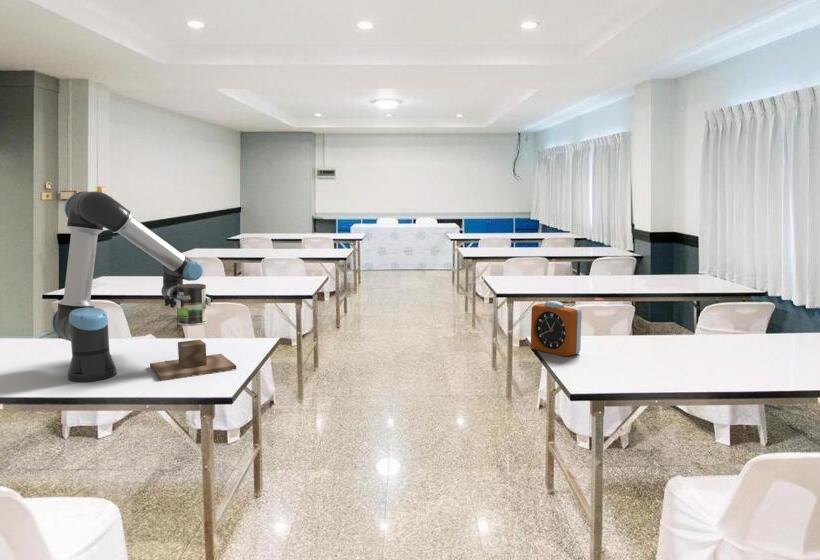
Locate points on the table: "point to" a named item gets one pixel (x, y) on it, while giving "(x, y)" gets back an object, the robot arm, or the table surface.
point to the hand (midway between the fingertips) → (194, 303)
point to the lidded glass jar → (191, 304)
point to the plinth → (180, 372)
